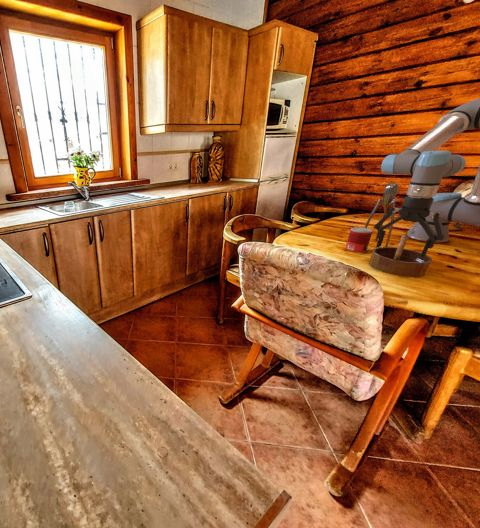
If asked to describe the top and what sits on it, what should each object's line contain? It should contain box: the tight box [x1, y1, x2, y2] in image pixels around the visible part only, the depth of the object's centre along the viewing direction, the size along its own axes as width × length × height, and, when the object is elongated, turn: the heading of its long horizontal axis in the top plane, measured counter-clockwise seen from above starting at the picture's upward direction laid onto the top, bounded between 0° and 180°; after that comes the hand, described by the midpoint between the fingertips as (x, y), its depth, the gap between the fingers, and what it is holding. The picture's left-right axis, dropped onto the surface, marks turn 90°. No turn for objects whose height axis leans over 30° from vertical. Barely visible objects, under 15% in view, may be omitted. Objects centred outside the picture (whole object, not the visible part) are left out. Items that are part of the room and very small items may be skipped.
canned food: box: [345, 226, 373, 254], centre depth 131 cm, size 8×8×11 cm
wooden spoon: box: [393, 233, 409, 261], centre depth 109 cm, size 4×4×15 cm
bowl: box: [368, 246, 433, 278], centre depth 113 cm, size 18×18×6 cm
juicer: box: [363, 182, 399, 247], centre depth 135 cm, size 10×11×30 cm
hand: (399, 250), depth 109 cm, fingers open, 13 cm apart
